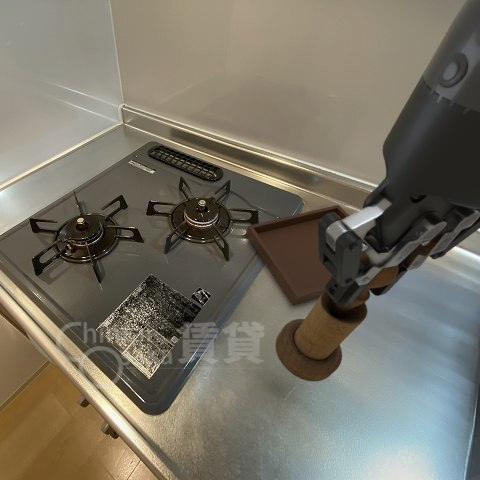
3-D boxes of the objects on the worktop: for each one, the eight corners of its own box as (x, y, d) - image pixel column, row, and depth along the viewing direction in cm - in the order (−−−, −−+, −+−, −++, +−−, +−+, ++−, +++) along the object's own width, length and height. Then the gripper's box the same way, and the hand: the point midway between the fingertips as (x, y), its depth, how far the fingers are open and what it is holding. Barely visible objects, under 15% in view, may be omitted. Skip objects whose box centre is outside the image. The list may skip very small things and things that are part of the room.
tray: (332, 214, 69) (338, 204, 67) (393, 276, 58) (402, 266, 56) (245, 235, 65) (247, 225, 63) (292, 306, 54) (297, 297, 52)
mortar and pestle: (269, 366, 36) (331, 273, 22) (280, 319, 39) (338, 216, 26) (331, 392, 34) (440, 307, 20) (336, 340, 37) (430, 240, 24)
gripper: (484, 154, 10) (309, 357, 23) (743, 93, 13) (456, 306, 26) (335, 73, 15) (259, 278, 28) (545, 41, 18) (387, 242, 31)
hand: (354, 291), depth 27 cm, fingers closed on mortar and pestle, 3 cm apart
